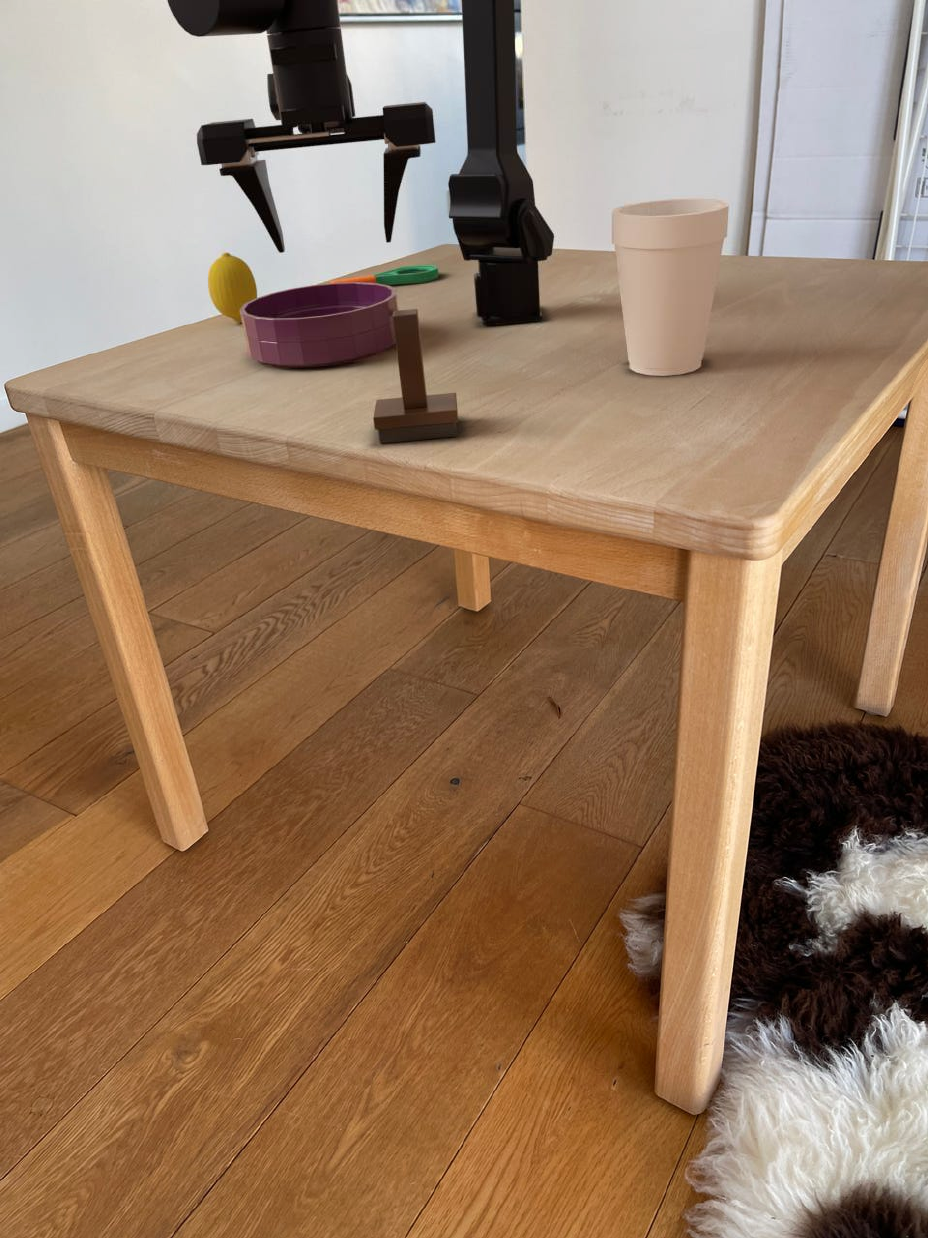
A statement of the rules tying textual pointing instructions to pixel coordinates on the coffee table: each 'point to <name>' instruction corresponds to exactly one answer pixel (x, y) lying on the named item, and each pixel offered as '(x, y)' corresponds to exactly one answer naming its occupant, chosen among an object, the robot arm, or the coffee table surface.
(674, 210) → the foam cup
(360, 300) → the bowl
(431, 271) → the magnifying glass
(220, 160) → the robot arm
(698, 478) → the coffee table surface
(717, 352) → the coffee table surface
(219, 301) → the lemon
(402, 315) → the brush
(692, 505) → the coffee table surface
